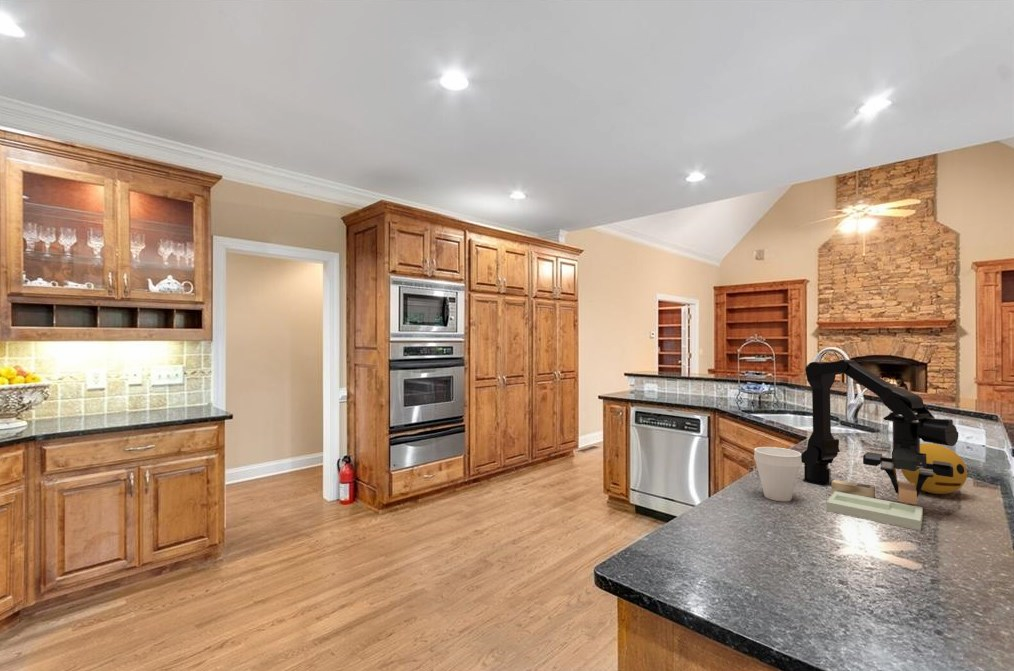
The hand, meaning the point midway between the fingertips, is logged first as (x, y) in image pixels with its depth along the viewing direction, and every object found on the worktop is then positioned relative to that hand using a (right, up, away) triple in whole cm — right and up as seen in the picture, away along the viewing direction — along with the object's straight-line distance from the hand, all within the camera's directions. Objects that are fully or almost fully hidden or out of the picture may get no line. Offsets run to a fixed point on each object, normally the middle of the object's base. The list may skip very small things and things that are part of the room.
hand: (906, 494), depth 127 cm
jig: (-13, -3, -5) cm, 14 cm away
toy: (+20, -4, +13) cm, 24 cm away
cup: (-31, -4, +8) cm, 33 cm away
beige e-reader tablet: (-8, -4, +9) cm, 13 cm away
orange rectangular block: (0, -1, 0) cm, 1 cm away
